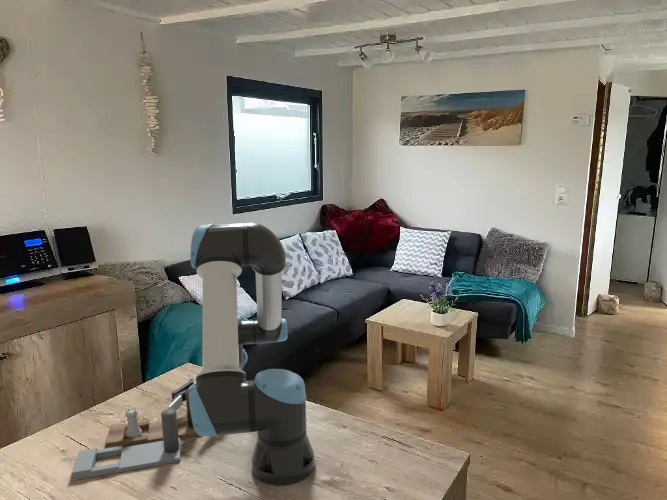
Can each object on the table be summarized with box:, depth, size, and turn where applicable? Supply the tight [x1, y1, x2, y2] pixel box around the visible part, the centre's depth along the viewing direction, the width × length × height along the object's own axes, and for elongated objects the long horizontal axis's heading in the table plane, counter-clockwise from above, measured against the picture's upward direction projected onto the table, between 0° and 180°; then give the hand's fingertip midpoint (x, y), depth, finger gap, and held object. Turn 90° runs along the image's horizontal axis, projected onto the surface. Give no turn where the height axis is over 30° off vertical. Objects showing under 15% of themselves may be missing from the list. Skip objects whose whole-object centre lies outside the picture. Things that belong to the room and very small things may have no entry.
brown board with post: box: [105, 388, 199, 448], centre depth 136 cm, size 9×24×11 cm, turn 106°
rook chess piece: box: [124, 407, 144, 439], centre depth 135 cm, size 4×4×8 cm
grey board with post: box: [71, 408, 181, 481], centre depth 125 cm, size 9×24×11 cm, turn 106°
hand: (185, 413), depth 134 cm, fingers open, 9 cm apart
